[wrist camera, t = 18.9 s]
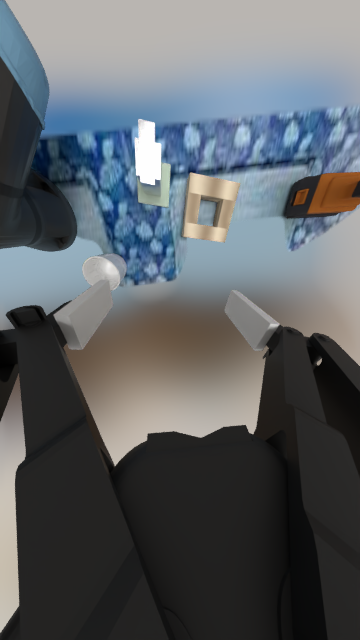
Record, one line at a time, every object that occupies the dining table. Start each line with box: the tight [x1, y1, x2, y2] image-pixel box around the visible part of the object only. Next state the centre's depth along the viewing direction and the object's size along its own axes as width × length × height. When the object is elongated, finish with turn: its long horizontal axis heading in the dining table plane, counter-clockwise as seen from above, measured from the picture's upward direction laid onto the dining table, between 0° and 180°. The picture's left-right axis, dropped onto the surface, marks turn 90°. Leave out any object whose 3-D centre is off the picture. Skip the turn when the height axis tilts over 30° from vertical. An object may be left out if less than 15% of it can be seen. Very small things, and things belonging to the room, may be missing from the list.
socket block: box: [182, 173, 240, 242], centre depth 32 cm, size 11×11×4 cm
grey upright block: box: [135, 119, 162, 197], centre depth 23 cm, size 4×6×14 cm, turn 174°
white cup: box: [82, 253, 127, 291], centre depth 34 cm, size 8×8×10 cm
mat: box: [137, 163, 171, 208], centre depth 29 cm, size 7×7×1 cm
